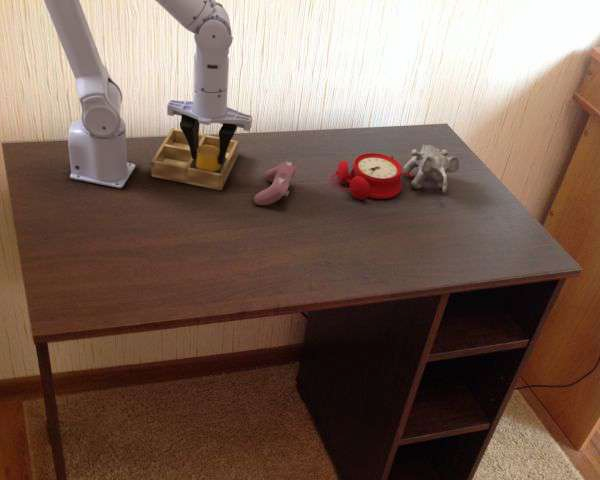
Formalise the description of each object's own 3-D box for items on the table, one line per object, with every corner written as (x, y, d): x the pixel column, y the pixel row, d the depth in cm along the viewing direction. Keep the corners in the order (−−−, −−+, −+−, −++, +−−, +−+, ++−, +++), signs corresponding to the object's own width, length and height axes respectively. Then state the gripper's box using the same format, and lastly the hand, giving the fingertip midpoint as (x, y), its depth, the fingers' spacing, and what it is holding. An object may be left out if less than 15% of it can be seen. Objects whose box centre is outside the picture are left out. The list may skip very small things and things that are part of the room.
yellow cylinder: (193, 169, 135) (193, 154, 133) (199, 157, 138) (200, 142, 136) (217, 174, 135) (217, 159, 133) (223, 162, 138) (223, 147, 136)
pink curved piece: (272, 217, 134) (292, 190, 130) (250, 202, 133) (271, 174, 128) (284, 189, 141) (304, 162, 136) (264, 175, 140) (283, 147, 135)
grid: (151, 176, 136) (151, 161, 134) (172, 142, 145) (171, 127, 143) (221, 190, 136) (222, 175, 134) (237, 155, 145) (238, 141, 142)
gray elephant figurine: (428, 167, 150) (438, 132, 144) (468, 199, 144) (479, 162, 138) (392, 177, 146) (401, 140, 140) (431, 210, 140) (442, 173, 134)
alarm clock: (421, 176, 140) (358, 173, 132) (407, 206, 144) (346, 204, 136) (390, 148, 146) (328, 144, 137) (378, 178, 150) (317, 175, 141)
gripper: (161, 86, 123) (162, 161, 133) (247, 103, 123) (242, 178, 132) (173, 69, 128) (174, 143, 138) (256, 85, 127) (251, 158, 137)
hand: (208, 158), depth 135 cm, fingers closed on yellow cylinder, 4 cm apart
